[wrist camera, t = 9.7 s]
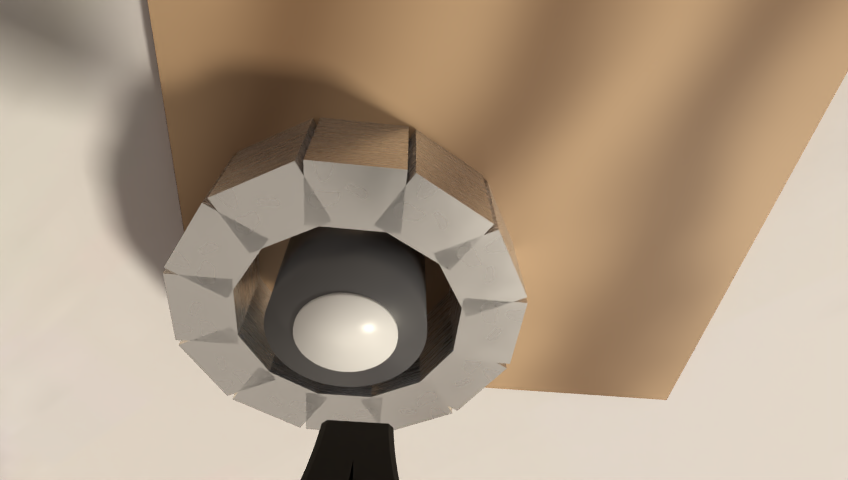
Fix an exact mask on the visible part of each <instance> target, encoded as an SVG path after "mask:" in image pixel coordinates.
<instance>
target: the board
mask: <svg viewBox="0 0 848 480" xmlns="http://www.w3.org/2000/svg"><path fill="white" fill-rule="evenodd" d="M147 1H148V7H149V13H150V20H151V26H152V32H153V39H154V45H155V51H156V57H157V64H158V70H159V76H160V83H161V89H162V95H163V102H164V108H165V114H166V120H167V127H168V133H169V139H170V146H171V152H172V158H173V165H174V171H175V177H176V183H177V190H178V196H179V202H180V209H181V215H182V221H183V228H184V232H185V230H186V229H187V227H188V225H189V224H190V222H191V220H192V219H193V217H194V215H195V213H196V212H197V210H198V208H199V207H200V205H201V203H202V202H203V200H204V199H205V197H206V196H207V194H208V193H209V191H210V190H211V188H212V187H213V185H214V184H215V182H216V181H217V179H218V178H219V176H220V175H221V173H222V172H223V170H224V169H225V167H226V166H227V164H228V163H229V161H230V160H231V158H232V156H235V155H236V154H237V152H238V151H240V150H242V149H244V148H247V147H249V146H251V145H253V144H256V143H258V142H260V141H262V140H265V139H267V138H269V137H272V136H274V135H276V134H278V133H281V132H283V131H285V130H287V129H290V128H292V127H294V126H296V125H299V124H301V123H303V122H306V121H308V120H310V119H312V118H313V119H314V121H315V123H316V124H317V125H318V122H319V120H320V117H324V118H334V119H343V120H353V121H363V122H372V123H382V124H391V125H401V126H409V137H410V136H411V135H412V134H413V132H414V131H415V130H416V129H417V130H418V131H420V132H421V133H423V134H424V135H425V136H427V137H428V138H430V139H431V140H433V141H434V142H436V143H437V144H438V145H440V146H441V147H443V148H444V149H446V150H447V151H449V152H450V153H451V154H453V155H454V156H456V157H457V158H459V159H460V160H462V161H463V162H464V163H466V164H467V165H469V166H470V167H472V168H473V169H475V170H476V171H477V172H479V173H480V174H482V175H483V178H484V181H487V182H488V184H489V186H490V189H491V191H492V194H493V196H494V199H495V201H496V203H497V206H498V208H499V211H500V213H501V215H502V218H503V220H504V223H505V225H506V228H507V230H508V232H509V235H510V237H511V240H512V242H513V246H514V249H515V253H516V257H517V261H518V264H519V268H520V272H521V275H522V279H523V283H524V287H525V290H526V294H527V297H526V299H527V302H528V304H527V307H526V310H525V314H524V317H523V321H522V324H521V328H520V331H519V335H518V338H517V341H516V345H515V348H514V352H513V355H512V359H511V362H510V364H506V367H507V369H506V370H504V371H503V372H502V373H501V374H500V375H499V376H497V377H496V378H495V379H494V380H493V381H491V382H490V383H489V384H488V385H487V386H486V388H500V389H515V390H530V391H544V392H559V393H574V394H588V395H603V396H617V397H632V398H647V399H661V400H667V398H668V396H669V394H670V393H671V391H672V389H673V387H674V385H675V383H676V382H677V380H678V378H679V376H680V374H681V373H682V371H683V369H684V367H685V365H686V364H687V362H688V360H689V358H690V356H691V354H692V353H693V351H694V349H695V347H696V345H697V344H698V342H699V340H700V338H701V336H702V334H703V333H704V331H705V329H706V327H707V325H708V324H709V322H710V320H711V318H712V316H713V315H714V313H715V311H716V309H717V307H718V305H719V304H720V302H721V300H722V298H723V296H724V295H725V293H726V291H727V289H728V287H729V285H730V284H731V282H732V280H733V278H734V276H735V275H736V273H737V271H738V269H739V267H740V266H741V264H742V262H743V260H744V258H745V256H746V255H747V253H748V251H749V249H750V247H751V246H752V244H753V242H754V240H755V238H756V236H757V235H758V233H759V231H760V229H761V227H762V226H763V224H764V222H765V220H766V218H767V217H768V215H769V213H770V211H771V209H772V207H773V206H774V204H775V202H776V200H777V198H778V197H779V195H780V193H781V191H782V189H783V187H784V186H785V184H786V182H787V180H788V178H789V177H790V175H791V173H792V171H793V169H794V168H795V166H796V164H797V162H798V160H799V158H800V157H801V155H802V153H803V151H804V149H805V148H806V146H807V144H808V142H809V140H810V139H811V137H812V135H813V133H814V131H815V129H816V128H817V126H818V124H819V122H820V120H821V119H822V117H823V115H824V113H825V111H826V109H827V108H828V106H829V104H830V102H831V100H832V99H833V97H834V95H835V93H836V91H837V90H838V88H839V86H840V84H841V82H842V80H843V79H844V77H845V75H846V73H847V71H848V0H147ZM409 137H408V139H409ZM290 238H291V237H290ZM290 238H288V239H285V240H283V241H280V242H277V243H275V244H272V245H270V246H267V247H265V248H262V249H261V250H260V252H259V267H260V278H261V279H262V281H263V282H264V283H265V284H266V286H267V287H268V288H269V290H270V291H271V292H272V291H273V288H274V285H275V282H276V279H277V276H278V273H279V270H280V267H281V264H282V261H283V258H284V255H285V252H286V249H287V246H288V243H289V241H290ZM424 258H425V279H426V310H427V314H428V313H429V312H430V311H431V310H432V309H433V308H434V307H435V306H436V305H437V304H438V303H439V302H440V301H441V300H442V299H443V298H444V297H445V296H446V295H447V294H448V293H449V288H450V284H449V282H448V280H447V278H446V276H445V274H444V273H443V271H442V269H441V267H440V265H439V264H438V263H437V262H435V261H433V260H432V259H430V258H428V257H427V256H425V255H424Z"/></svg>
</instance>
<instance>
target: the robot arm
mask: <svg viewBox="0 0 848 480" xmlns="http://www.w3.org/2000/svg"><path fill="white" fill-rule="evenodd" d="M301 480H399V477H398V471H397V465H396V457H395V448H394V433H393V427H392V426H391V425H390V424H388V423H371V422H355V421H338V420H326V421H325V422H323V423H322V424H321V427H320V431H319V434H318V437H317V440H316V443H315V446H314V449H313V452H312V454H311V457H310V459H309V462H308V464H307V467H306V469H305V471H304V474H303V476H302V478H301Z"/></svg>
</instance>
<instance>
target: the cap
mask: <svg viewBox="0 0 848 480" xmlns="http://www.w3.org/2000/svg"><path fill="white" fill-rule="evenodd" d="M264 331H265V336H266V339H267V342H268V344H269V346H270V347H271V349H272V351H273V352H274V354H275V355H276V356H277V357H278V358H279V359H280V360H281V361H282V362H283V363H284V364H285V365H286V366H287V367H289V368H290V369H291V370H293V371H295V372H296V373H298V374H300V375H302V376H304V377H306V378H308V379H311V380H313V381H316V382H319V383H323V384H327V385H333V386H341V387H361V386H368V385H374V384H378V383H381V382H384V381H387V380H390V379H392V378H394V377H396V376H398V375H400V374H401V373H403V372H404V371H406V370H407V369H408V368H409V367H410V366H411V365H413V364H414V362H415V361H416V360H417V359H418V358H419V356H420V354H421V353H422V351H423V348H424V346H425V343H426V338H427V310H426V279H425V258H424V255H423V254H422V253H420V252H418V251H417V250H415V249H413V248H412V247H410V246H408V245H407V244H405V243H403V242H402V241H400V240H398V239H397V238H395V237H393V236H392V235H390V234H388V233H387V232H378V231H367V230H356V229H345V228H333V227H322V226H318V227H316V228H313V229H311V230H308V231H306V232H303V233H300V234H298V235H295V236H293V237H291V238H290V241H289V243H288V246H287V249H286V252H285V255H284V258H283V261H282V264H281V267H280V270H279V273H278V276H277V279H276V282H275V285H274V288H273V291H272V294H271V296H270V299H269V302H268V305H267V308H266V311H265V316H264Z"/></svg>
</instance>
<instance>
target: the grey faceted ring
mask: <svg viewBox="0 0 848 480" xmlns="http://www.w3.org/2000/svg"><path fill="white" fill-rule="evenodd" d="M408 137H409V126H401V125H391V124H382V123H372V122H363V121H353V120H343V119H334V118H324V117H320V120H319V122H318V125H317V124H316V123H315V121H314V119H313V118H312V119H310V120H308V121H306V122H303V123H301V124H299V125H296V126H294V127H292V128H290V129H287V130H285V131H283V132H281V133H278V134H276V135H274V136H272V137H269V138H267V139H265V140H262V141H260V142H258V143H256V144H253V145H251V146H249V147H247V148H244V149H242V150H240V151H238V152H237V154H236V155H235V156H232V158H231V160H230V161H229V163H228V164H227V166H226V167H225V169H224V170H223V172H222V173H221V175H220V176H219V178H218V179H217V181H216V182H215V184H214V185H213V187H212V188H211V190H210V191H209V193H208V194H207V196H206V197H205V199H204V200H203V202H202V203H201V205H200V207H199V208H198V210H197V212H196V213H195V215H194V217H193V219H192V220H191V222H190V224H189V225H188V227H187V229H186V230H185V232H184V234H183V236H182V237H181V239H180V241H179V242H178V244H177V246H176V247H175V249H174V251H173V253H172V254H171V256H170V258H169V259H168V261H167V263H166V264H165V266H164V268H166V269H165V271H164V272H163V278H164V283H165V288H166V293H167V298H168V303H169V308H170V313H171V319H172V324H173V329H174V334H175V339H176V340H181V341H180V343H179V346H180V347H181V348H182V349H183V350H184V351H185V352H186V353H187V354H188V355H189V356H190V357H191V358H192V359H193V361H194V362H195V363H196V364H197V365H198V366H199V367H200V368H201V369H202V370H203V371H204V372H205V373H206V374H207V375H208V376H209V377H210V378H211V379H212V380H213V381H214V382H215V383H216V384H217V385H218V386H219V388H220V389H221V390H222V391H223V392H224V393H225V394H226V395H227V396H228V395H231V394H234V393H235V394H234V397H233V400H236V401H238V402H241V403H243V404H245V405H248V406H250V407H253V408H255V409H257V410H260V411H262V412H264V413H267V414H269V415H272V416H274V417H276V418H279V419H281V420H284V421H286V422H288V423H291V424H293V425H295V426H298V427H301V426H302V425H303V424H304V423H305V422H306V429H317V430H320V427H321V424H322V423H323V422H325V421H326V420H338V421H355V422H371V423H388V424H390V425H391V426H392V427H393V430H396V429H399V428H403V427H406V426H410V425H413V424H417V423H420V422H424V421H427V420H431V419H434V418H437V417H441V416H444V415H448V414H451V413H452V408H453V409H455V410H459V409H460V408H461V407H462V406H463V405H464V404H466V403H467V402H468V401H469V400H470V399H472V398H473V397H474V396H475V395H476V394H477V393H479V392H480V391H481V390H482V389H483V388H484V387H486V386H487V385H488V384H489V383H490V382H491V381H493V380H494V379H495V378H496V377H497V376H499V375H500V374H501V373H502V372H503V371H504V370H506V369H507V367H506V364H510V362H511V359H512V355H513V352H514V348H515V345H516V341H517V338H518V335H519V331H520V328H521V324H522V321H523V317H524V314H525V310H526V307H527V304H528V302H527V299H526V297H527V294H526V290H525V287H524V283H523V279H522V275H521V272H520V268H519V264H518V261H517V257H516V253H515V249H514V246H513V242H512V240H511V237H510V235H509V232H508V230H507V228H506V225H505V223H504V220H503V218H502V215H501V213H500V211H499V208H498V206H497V203H496V201H495V199H494V196H493V194H492V191H491V189H490V186H489V184H488V182H487V181H484V178H483V175H482V174H480V173H479V172H477V171H476V170H475V169H473V168H472V167H470V166H469V165H467V164H466V163H464V162H463V161H462V160H460V159H459V158H457V157H456V156H454V155H453V154H451V153H450V152H449V151H447V150H446V149H444V148H443V147H441V146H440V145H438V144H437V143H436V142H434V141H433V140H431V139H430V138H428V137H427V136H425V135H424V134H423V133H421V132H420V131H418V130H417V129H416V130H415V131H414V132H413V134H412V135H411V136H410V137H409V139H408ZM318 226H322V227H333V228H345V229H356V230H367V231H378V232H387V233H388V234H390V235H392V236H393V237H395V238H397V239H398V240H400V241H402V242H403V243H405V244H407V245H408V246H410V247H412V248H413V249H415V250H417V251H418V252H420V253H422V254H423V255H425V256H427V257H428V258H430V259H432V260H433V261H435V262H437V263H438V264H439V265H440V267H441V269H442V271H443V273H444V274H445V276H446V278H447V280H448V282H449V284H450V288H449V293H448V294H447V295H446V296H445V297H444V298H443V299H442V300H441V301H440V302H439V303H438V304H437V305H436V306H435V307H434V308H433V309H432V310H431V311H430V312H429V313H428V314H427V338H426V343H425V346H424V348H423V351H422V353H421V354H420V356H419V358H418V359H417V360H416V361H415V362H414V364H413V365H411V366H410V367H409V368H408V369H407V370H406V371H404V372H403V373H401V374H400V375H398V376H396V377H394V378H392V379H390V380H387V381H384V382H381V383H378V384H374V385H368V386H361V387H341V386H333V385H327V384H323V383H319V382H316V381H313V380H311V379H308V378H306V377H304V376H302V375H300V374H298V373H296V372H295V371H293V370H291V369H290V368H289V367H287V366H286V365H285V364H284V363H283V362H282V361H281V360H280V359H279V358H278V357H277V356H276V355H275V354H274V352H273V351H272V349H271V347H270V346H269V344H268V342H267V339H266V336H265V331H264V316H265V311H266V308H267V305H268V302H269V299H270V296H271V294H272V292H271V291H270V290H269V288H268V287H267V286H266V284H265V283H264V282H263V281H262V279H261V278H260V267H259V252H260V250H261V249H262V248H265V247H267V246H270V245H272V244H275V243H277V242H280V241H283V240H285V239H288V238H290V237H293V236H295V235H298V234H300V233H303V232H306V231H308V230H311V229H313V228H316V227H318Z"/></svg>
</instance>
